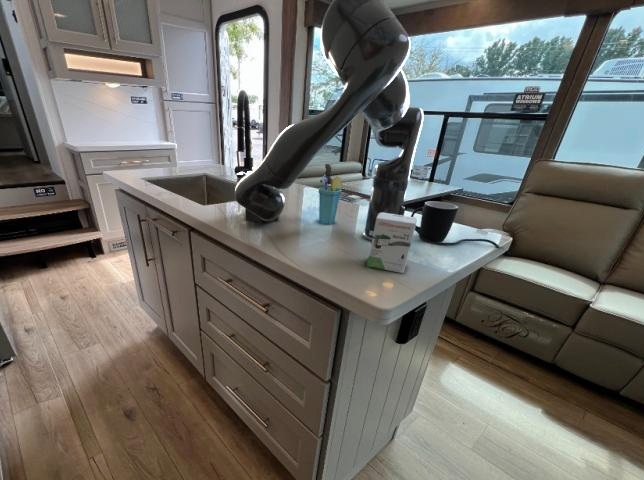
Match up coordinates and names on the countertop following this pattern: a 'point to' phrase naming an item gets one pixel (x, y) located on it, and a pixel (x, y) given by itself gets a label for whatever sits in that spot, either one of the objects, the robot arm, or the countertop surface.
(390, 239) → the ink box
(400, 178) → the robot arm
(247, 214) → the storage box
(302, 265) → the countertop surface
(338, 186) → the cup
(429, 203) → the mug
